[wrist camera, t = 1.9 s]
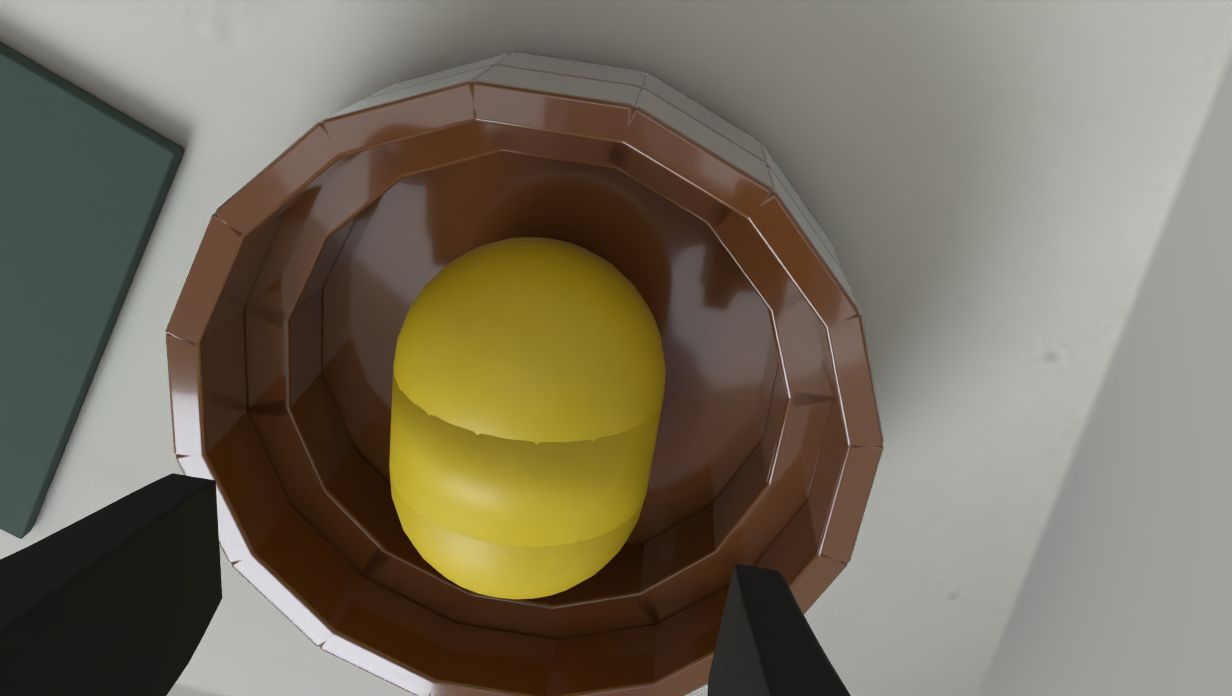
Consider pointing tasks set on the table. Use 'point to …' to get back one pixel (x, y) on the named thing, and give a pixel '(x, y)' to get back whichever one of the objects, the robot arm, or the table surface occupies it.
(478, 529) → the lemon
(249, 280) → the bowl
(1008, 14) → the table surface
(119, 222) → the runner
